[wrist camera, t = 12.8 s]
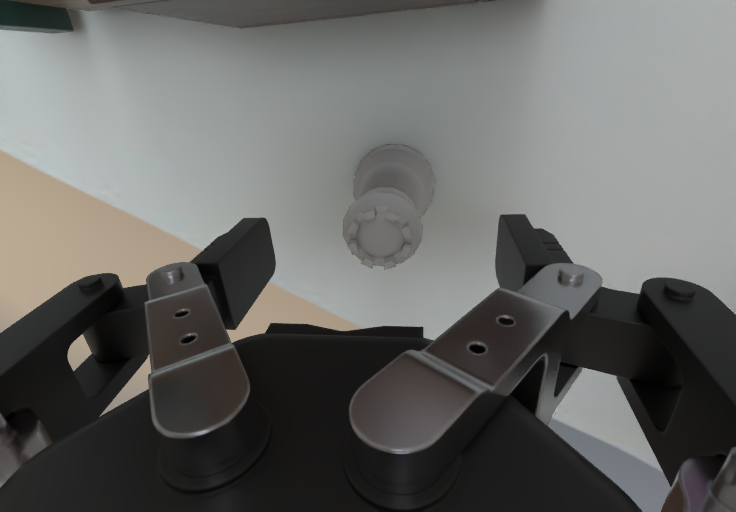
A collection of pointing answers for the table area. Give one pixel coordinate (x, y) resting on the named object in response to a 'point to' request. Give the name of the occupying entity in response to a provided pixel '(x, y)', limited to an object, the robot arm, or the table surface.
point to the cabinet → (269, 9)
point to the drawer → (41, 14)
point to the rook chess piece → (388, 206)
